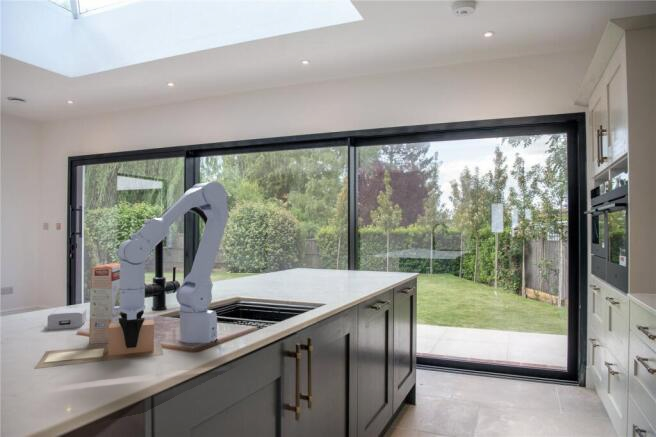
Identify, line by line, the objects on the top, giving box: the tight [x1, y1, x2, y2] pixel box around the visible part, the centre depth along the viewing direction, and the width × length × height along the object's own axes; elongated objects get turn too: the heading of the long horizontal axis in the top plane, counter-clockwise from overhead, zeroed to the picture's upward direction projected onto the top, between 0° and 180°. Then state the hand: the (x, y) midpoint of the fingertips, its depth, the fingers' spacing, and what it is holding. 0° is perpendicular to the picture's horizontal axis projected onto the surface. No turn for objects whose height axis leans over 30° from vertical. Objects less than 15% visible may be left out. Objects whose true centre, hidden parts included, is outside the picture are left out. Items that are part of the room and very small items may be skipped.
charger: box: [46, 307, 87, 330], centre depth 142 cm, size 5×9×15 cm
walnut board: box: [33, 340, 164, 369], centre depth 105 cm, size 26×14×1 cm, turn 114°
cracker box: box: [88, 262, 122, 344], centre depth 121 cm, size 14×6×21 cm, turn 7°
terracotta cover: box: [107, 319, 155, 356], centre depth 108 cm, size 10×6×6 cm, turn 114°
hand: (131, 343), depth 108 cm, fingers open, 7 cm apart
